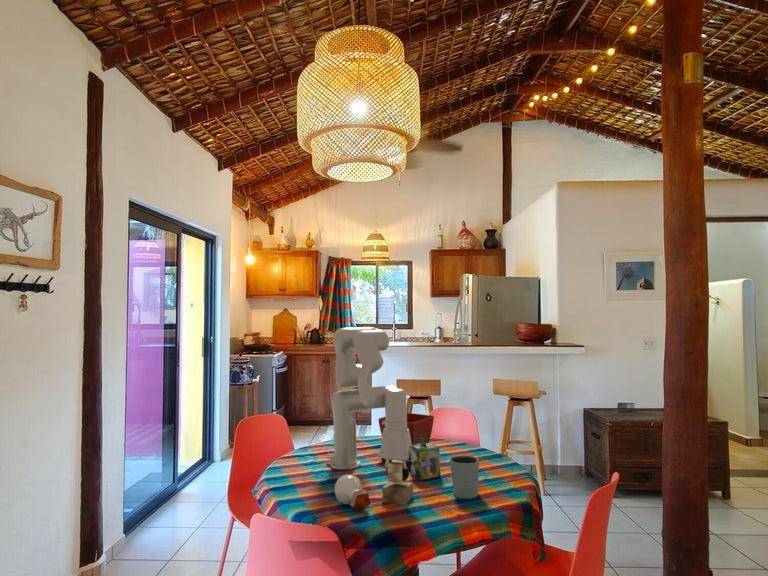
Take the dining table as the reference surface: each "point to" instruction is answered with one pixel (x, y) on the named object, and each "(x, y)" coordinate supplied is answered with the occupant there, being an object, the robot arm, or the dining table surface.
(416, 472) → the chalk box
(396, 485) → the tan square block
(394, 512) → the dining table surface
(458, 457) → the grey embossed cup
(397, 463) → the beech block
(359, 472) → the dining table surface
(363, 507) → the potion bottle
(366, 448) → the dining table surface
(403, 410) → the robot arm
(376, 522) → the dining table surface
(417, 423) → the plant pot
